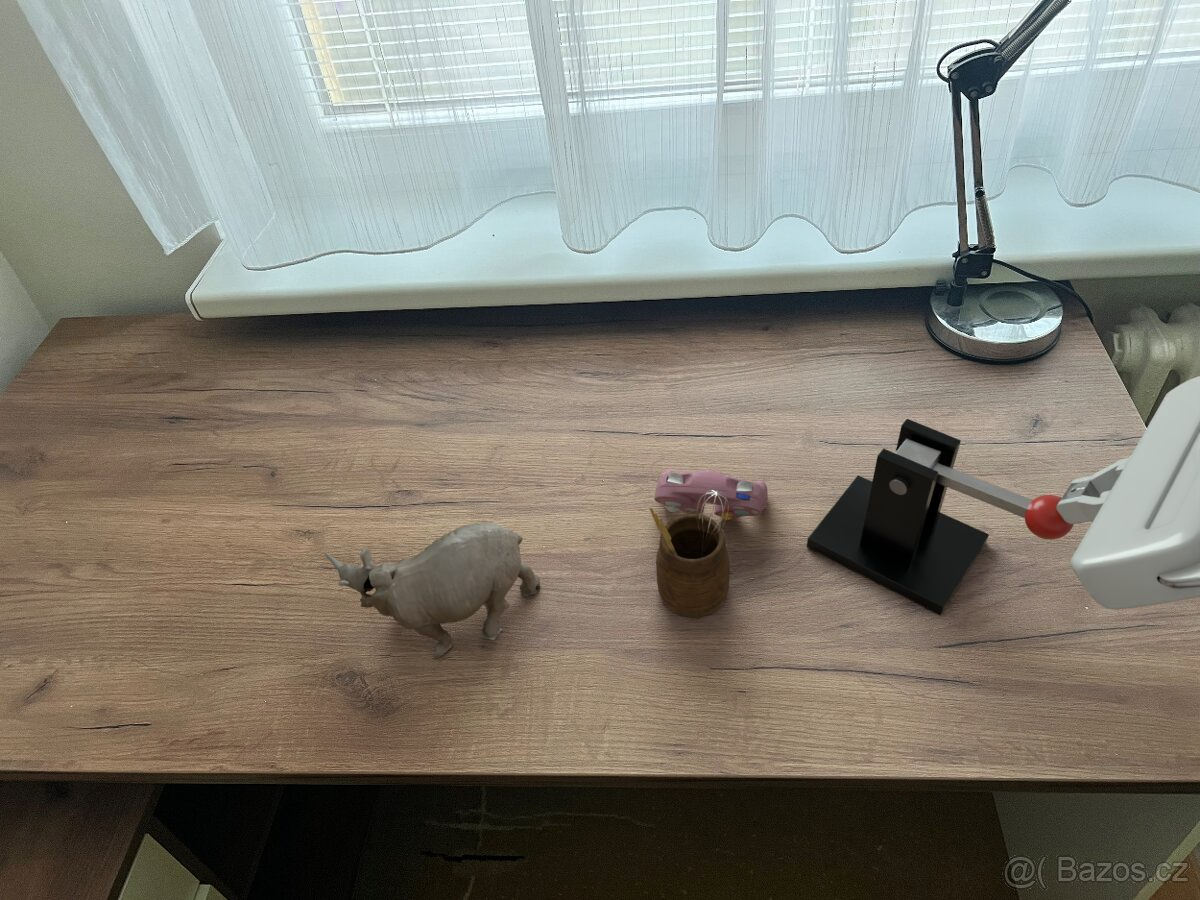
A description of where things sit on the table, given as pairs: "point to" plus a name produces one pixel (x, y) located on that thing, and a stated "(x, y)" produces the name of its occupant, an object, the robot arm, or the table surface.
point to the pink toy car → (711, 493)
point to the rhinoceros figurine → (445, 581)
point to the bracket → (902, 526)
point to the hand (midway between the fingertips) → (1068, 502)
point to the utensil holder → (692, 563)
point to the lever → (993, 493)
